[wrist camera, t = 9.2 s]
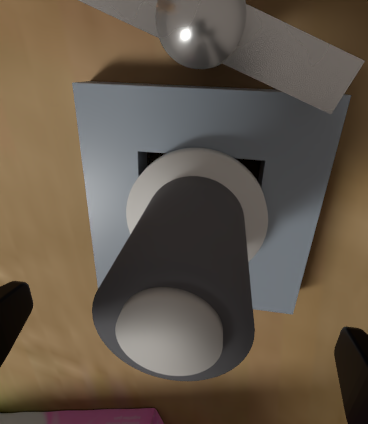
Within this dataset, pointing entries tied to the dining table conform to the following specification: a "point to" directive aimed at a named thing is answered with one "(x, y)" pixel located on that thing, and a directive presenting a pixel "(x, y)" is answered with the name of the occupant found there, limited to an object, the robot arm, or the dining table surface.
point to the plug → (185, 268)
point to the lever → (243, 45)
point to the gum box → (85, 417)
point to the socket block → (220, 141)
